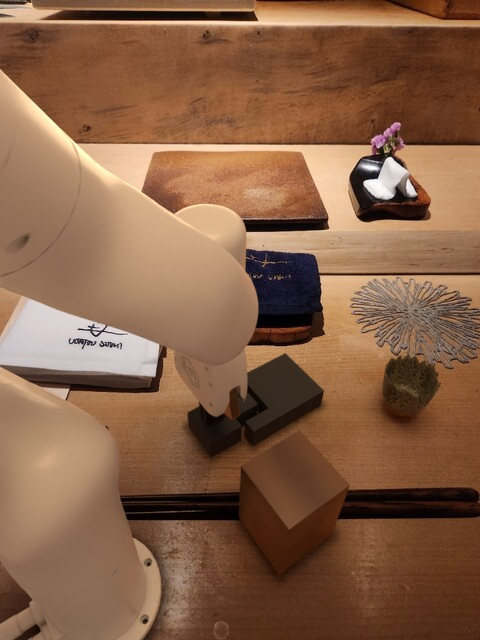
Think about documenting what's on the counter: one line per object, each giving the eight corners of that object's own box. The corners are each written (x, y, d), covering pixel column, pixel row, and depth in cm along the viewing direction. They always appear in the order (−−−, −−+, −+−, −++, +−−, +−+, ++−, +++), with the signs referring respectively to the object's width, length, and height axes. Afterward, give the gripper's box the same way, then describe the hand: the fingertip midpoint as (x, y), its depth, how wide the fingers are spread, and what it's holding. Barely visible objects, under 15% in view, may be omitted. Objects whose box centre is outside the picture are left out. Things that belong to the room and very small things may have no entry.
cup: (426, 434, 65) (444, 400, 60) (373, 425, 66) (386, 390, 61) (421, 394, 71) (438, 358, 65) (373, 386, 72) (385, 350, 66)
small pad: (210, 458, 62) (210, 444, 59) (188, 427, 65) (187, 412, 63) (264, 427, 66) (265, 412, 63) (240, 399, 69) (241, 384, 67)
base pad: (252, 446, 63) (253, 431, 61) (217, 402, 69) (217, 387, 66) (320, 405, 69) (324, 390, 66) (283, 367, 74) (285, 352, 72)
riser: (278, 575, 51) (288, 529, 43) (238, 517, 56) (240, 465, 48) (331, 534, 55) (350, 485, 47) (289, 482, 60) (299, 429, 51)
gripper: (146, 293, 52) (162, 393, 65) (217, 378, 43) (219, 474, 56) (203, 271, 56) (207, 371, 68) (279, 346, 47) (268, 444, 59)
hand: (213, 417), depth 62 cm, fingers closed
